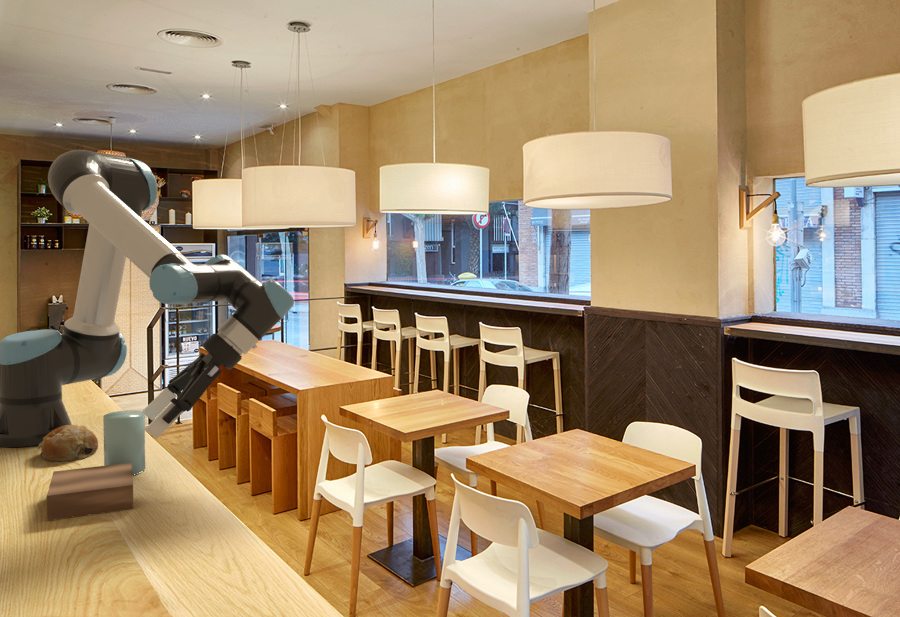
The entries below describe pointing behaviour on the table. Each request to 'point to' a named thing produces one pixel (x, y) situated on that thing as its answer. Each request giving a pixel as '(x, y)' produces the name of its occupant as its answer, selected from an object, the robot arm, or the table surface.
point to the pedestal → (90, 491)
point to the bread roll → (68, 443)
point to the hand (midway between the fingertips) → (148, 424)
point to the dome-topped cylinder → (125, 439)
